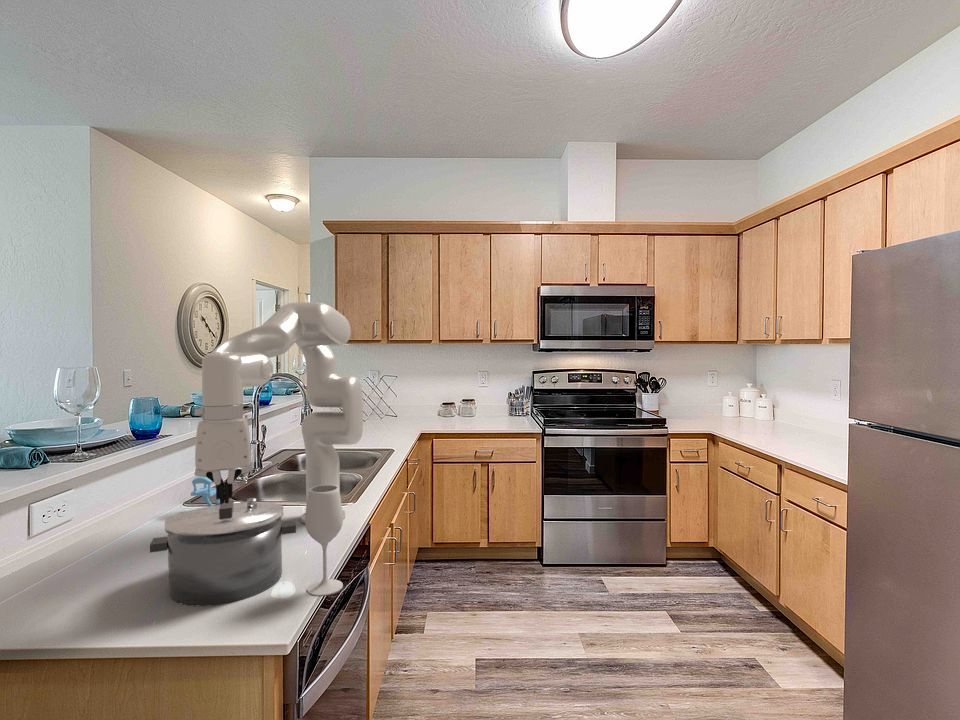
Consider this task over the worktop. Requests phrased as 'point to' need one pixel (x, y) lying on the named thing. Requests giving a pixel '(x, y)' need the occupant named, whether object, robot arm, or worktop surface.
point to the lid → (224, 518)
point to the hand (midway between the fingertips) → (224, 501)
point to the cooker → (224, 563)
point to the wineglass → (324, 530)
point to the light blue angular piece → (204, 489)
